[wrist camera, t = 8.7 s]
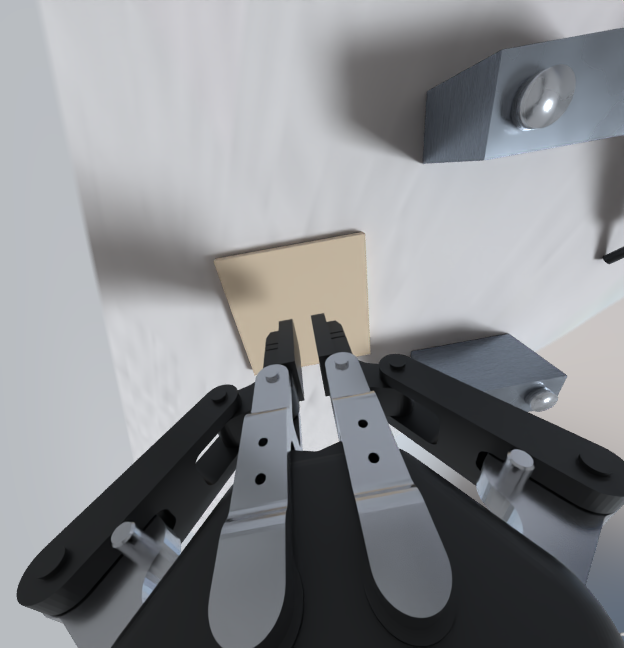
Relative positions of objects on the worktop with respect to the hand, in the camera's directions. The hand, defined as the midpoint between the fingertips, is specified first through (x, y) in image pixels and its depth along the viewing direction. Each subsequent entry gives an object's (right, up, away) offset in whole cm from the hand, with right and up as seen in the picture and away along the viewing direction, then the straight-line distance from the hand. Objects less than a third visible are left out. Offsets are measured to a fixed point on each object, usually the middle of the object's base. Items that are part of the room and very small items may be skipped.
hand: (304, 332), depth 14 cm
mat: (0, +1, +4) cm, 5 cm away
